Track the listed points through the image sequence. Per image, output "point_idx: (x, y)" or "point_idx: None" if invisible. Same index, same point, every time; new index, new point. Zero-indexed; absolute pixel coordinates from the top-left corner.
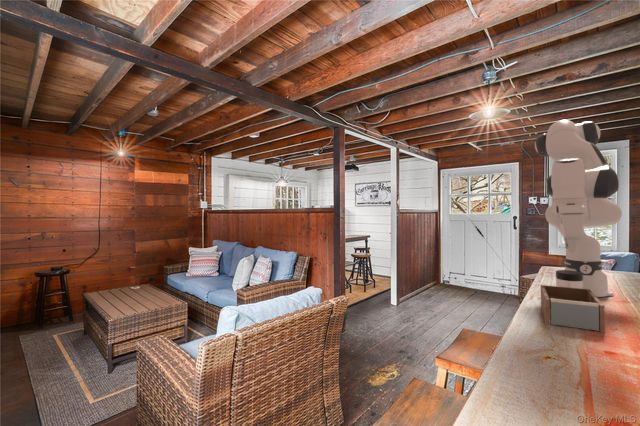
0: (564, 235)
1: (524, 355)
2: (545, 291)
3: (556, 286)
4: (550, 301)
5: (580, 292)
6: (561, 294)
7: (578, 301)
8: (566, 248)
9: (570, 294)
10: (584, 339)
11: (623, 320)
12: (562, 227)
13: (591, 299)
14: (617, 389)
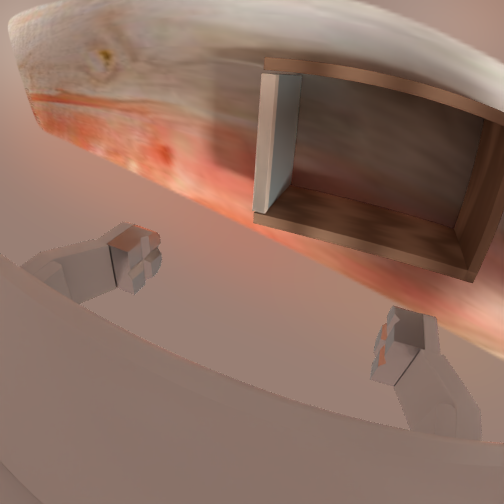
0: (5, 270)
1: (99, 24)
2: (412, 91)
3: None
4: (488, 139)
5: (472, 246)
6: (489, 183)
7: (264, 161)
8: (395, 307)
9: (480, 212)
10: (214, 128)
11: (396, 282)
12: (153, 501)
13: (386, 238)
14: (70, 129)
